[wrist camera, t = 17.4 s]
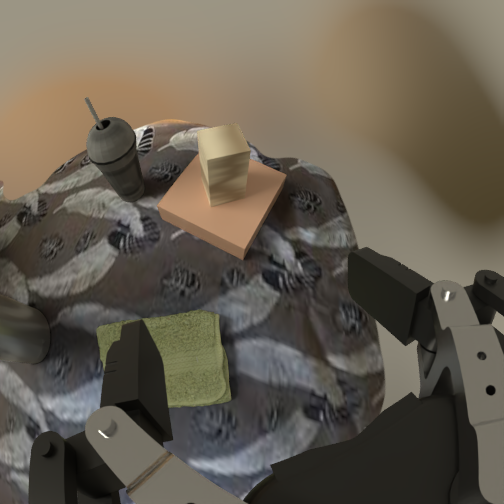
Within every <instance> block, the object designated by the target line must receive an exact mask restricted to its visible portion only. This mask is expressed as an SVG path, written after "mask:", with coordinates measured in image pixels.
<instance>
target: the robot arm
mask: <svg viewBox="0 0 504 504" xmlns="http://www.w3.org/2000/svg"><path fill="white" fill-rule="evenodd" d="M348 290H349V293H350V295H351V297H352V299H353V300H354V301H355V302H356V303H357V304H359V305H360V306H361V307H362V308H363V309H364V310H365V311H367V312H368V313H369V314H370V315H371V316H372V317H373V318H374V319H376V320H377V321H378V322H379V323H380V324H381V325H382V326H383V327H385V328H386V329H387V330H388V331H389V332H390V333H391V334H392V335H394V336H395V337H396V338H397V339H398V340H399V341H400V342H402V344H404V345H405V346H407V345H408V344H410V343H411V342H413V341H414V340H417V341H418V345H417V354H418V362H419V373H420V394H419V398H417V397H416V396H415V395H414V394H413V393H412V392H411V393H409V394H408V395H407V396H405V397H404V398H402V399H401V400H399V401H398V402H396V403H395V404H393V405H392V406H390V407H389V408H387V409H386V410H384V411H383V412H382V413H381V414H380V415H379V416H378V417H377V418H376V419H375V420H374V421H373V422H372V423H371V424H370V425H368V426H367V427H366V428H365V429H364V430H363V431H362V432H361V433H360V434H359V435H358V436H356V437H355V438H353V439H351V440H348V441H344V442H340V443H336V444H332V445H328V446H324V447H319V448H315V449H310V450H308V451H305V452H303V453H301V454H298V455H296V456H293V457H291V458H288V459H285V460H283V461H280V462H277V463H275V464H272V465H270V466H271V468H272V470H273V474H271V475H269V476H268V477H266V478H265V479H264V480H262V481H261V482H260V483H258V484H257V485H256V486H255V487H254V488H253V489H252V490H251V491H250V492H249V493H248V495H247V496H246V497H245V498H244V500H243V501H242V500H240V499H238V498H237V497H235V496H233V495H232V494H230V493H228V492H227V491H225V490H223V489H222V488H220V487H219V486H217V485H215V484H214V483H212V482H211V481H209V480H208V479H206V478H205V477H203V476H202V475H201V474H199V473H198V472H196V471H195V470H193V469H192V468H191V467H189V466H188V465H187V464H185V463H184V462H183V461H181V460H180V459H179V458H177V457H176V456H175V455H173V454H172V453H171V452H168V451H167V450H165V449H164V446H163V442H166V441H171V440H173V436H172V429H171V423H170V416H169V408H168V400H167V392H166V383H165V373H164V364H163V360H162V357H161V354H160V352H159V350H158V348H157V346H156V344H155V342H154V340H153V338H152V336H151V334H150V332H149V330H148V328H147V326H146V324H145V322H144V321H143V320H142V319H141V320H137V321H133V322H130V323H126V324H123V325H122V328H121V335H120V340H118V341H114V342H113V343H112V345H111V347H110V348H109V350H108V352H107V355H106V362H105V364H106V366H105V369H104V374H105V375H104V376H103V385H102V394H101V404H100V409H98V410H96V411H95V412H94V413H93V414H92V415H91V416H90V417H89V419H88V420H87V423H86V426H85V431H83V432H81V433H79V434H76V435H74V436H72V437H69V438H67V439H64V438H63V437H61V436H60V435H59V434H58V433H56V432H53V431H47V432H44V433H42V434H40V435H39V436H38V437H37V438H36V440H35V441H34V443H33V445H32V449H31V458H30V471H29V504H121V503H120V497H119V490H120V489H123V488H125V487H127V488H128V489H127V490H126V492H127V494H128V496H129V497H130V498H131V499H132V500H133V501H134V502H135V503H136V504H504V335H503V334H502V333H501V332H499V331H498V330H497V329H496V328H494V327H493V326H492V325H491V324H492V321H493V319H494V316H495V313H496V311H498V312H499V313H500V314H501V315H503V316H504V277H502V276H501V275H499V274H498V273H496V272H494V271H490V270H481V271H479V272H477V273H476V275H475V279H474V284H473V285H470V286H466V287H462V286H461V285H459V284H458V283H456V282H452V281H447V280H446V281H445V280H443V281H438V282H436V283H432V282H431V281H429V280H428V279H426V278H424V277H423V276H421V275H419V274H418V273H416V272H415V271H413V270H411V269H408V267H406V266H405V265H403V264H402V265H401V263H400V262H398V261H396V260H394V259H393V258H390V257H387V256H383V255H380V254H378V253H377V252H375V251H373V250H372V249H370V248H368V247H365V248H362V249H359V250H356V251H354V252H351V253H350V254H349V255H348ZM49 346H50V329H49V325H48V322H47V320H46V318H45V316H44V315H43V314H42V313H41V312H40V311H39V310H37V309H35V308H33V307H30V306H28V305H25V304H23V303H21V302H18V301H16V300H14V299H11V298H9V297H7V296H4V295H2V294H0V360H2V361H10V362H18V363H29V364H36V363H39V362H41V361H42V360H43V359H44V358H45V356H46V355H47V353H48V350H49ZM77 493H78V498H77Z"/></svg>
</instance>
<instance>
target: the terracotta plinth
mask: <svg viewBox="0 0 504 504" xmlns="http://www.w3.org/2000/svg"><path fill="white" fill-rule="evenodd" d="M285 179H286V174H284V173H281V172H279V171H277V170H275V169H272V168H270V167H268V166H266V165H263V164H261V163H259V162H256V161H254V160H252V159H250V160H249V168H248V176H247V184H246V193H245V198H244V199H240V200H236V201H232V202H228V203H225V204H221V205H217V206H213V207H210V204H209V201H208V197H207V194H206V191H205V188H204V185H203V182H202V176H201V167H200V157H199V153H198V154H197V155H196V157H195V158H194V159H193V160H192V161H191V163H190V164H189V165H188V166H187V168H186V169H185V170H184V171H183V173H182V174H181V175H180V176H179V178H178V179H177V180H176V181H175V183H174V184H173V185H172V186H171V188H170V189H169V190H168V192H167V193H166V194H165V196H164V197H163V198H162V200H161V201H160V202H159V204H158V205H157V207H158V210H159V212H160V215H161V217H162V219H163V220H165V221H167V222H169V223H171V224H173V225H175V226H177V227H179V228H181V229H183V230H184V231H186V232H188V233H190V234H192V235H194V236H196V237H198V238H200V239H202V240H204V241H206V242H208V243H210V244H212V245H214V246H216V247H218V248H220V249H222V250H224V251H226V252H228V253H230V254H232V255H234V256H236V257H238V258H240V259H242V260H243V259H244V257H245V256H246V254H247V252H248V250H249V248H250V247H251V245H252V243H253V241H254V239H255V237H256V236H257V234H258V232H259V230H260V228H261V227H262V225H263V223H264V221H265V219H266V218H267V216H268V214H269V212H270V210H271V209H272V207H273V205H274V203H275V201H276V200H277V198H278V196H279V194H280V192H281V191H282V188H283V185H284V182H285Z"/></svg>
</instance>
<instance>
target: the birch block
mask: <svg viewBox="0 0 504 504" xmlns="http://www.w3.org/2000/svg"><path fill="white" fill-rule="evenodd" d="M197 135H198V146H199V157H200V167H201V176H202V182H203V185H204V188H205V191H206V194H207V197H208V201H209V204H210V207H213V206H217V205H221V204H225V203H228V202H232V201H236V200H240V199H244V198H245V193H246V184H247V176H248V168H249V160H250V151H251V150H250V148H249V146H248V144H247V142H246V140H245V138H244V136H243V134H242V132H241V130H240V128H239V126H238V124H237V123H235V124H229V125H224V126H219V127H214V128H209V129H204V130H200V131H197Z"/></svg>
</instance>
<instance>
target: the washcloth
mask: <svg viewBox="0 0 504 504" xmlns="http://www.w3.org/2000/svg"><path fill="white" fill-rule="evenodd" d="M138 320H141V319H138ZM142 320H143V321H144V322H145V324H146V326H147V328H148V330H149V332H150V334H151V336H152V338H153V340H154V342H155V344H156V346H157V348H158V350H159V352H160V354H161V357H162V360H163V364H164V373H165V383H166V392H167V400H168V408H170V407H171V408H172V407H182V406H192V407H193V406H194V407H195V406H205V405H212V404H219V403H223V402H224V403H225V402H228V401H231V393H230V386H229V371H228V359H227V356H226V352H225V349H224V348H223V346H222V343H221V336H220V328H219V314H214V312H207V311H203V310H200V309H199V310H196V311H192V310H190V312H187V313H179V314H174V315H169V316H163V317H162V316H160V317H155V318H154V317H152V318H142ZM133 321H137V320H126V321H124V320H123V321H121V322H116V323H112V324H106V325H102V326H98V328H97V329H96V332H97V339H98V345H99V347H100V350H99V351H100V359H101V361H102V362H103V368H104V369H105V366H106V364H105V362H106V355H107V352H108V350H109V348H110V347H111V345H112V343H113V342H114V341H118V340H120V335H121V328H122V325H123V324H126V323H130V322H133Z"/></svg>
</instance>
